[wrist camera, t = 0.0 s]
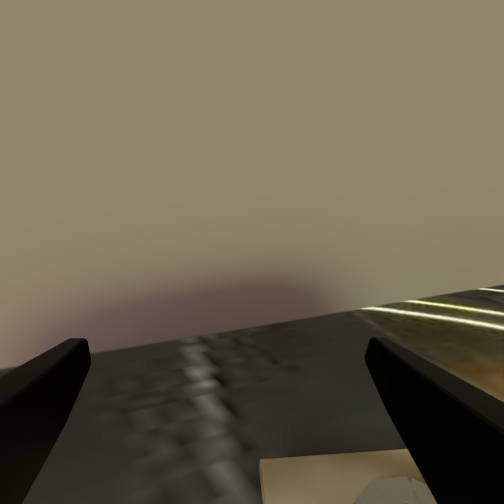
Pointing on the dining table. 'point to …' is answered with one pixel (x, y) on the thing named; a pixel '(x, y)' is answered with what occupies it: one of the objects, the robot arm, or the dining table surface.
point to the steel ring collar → (395, 492)
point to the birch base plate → (331, 476)
